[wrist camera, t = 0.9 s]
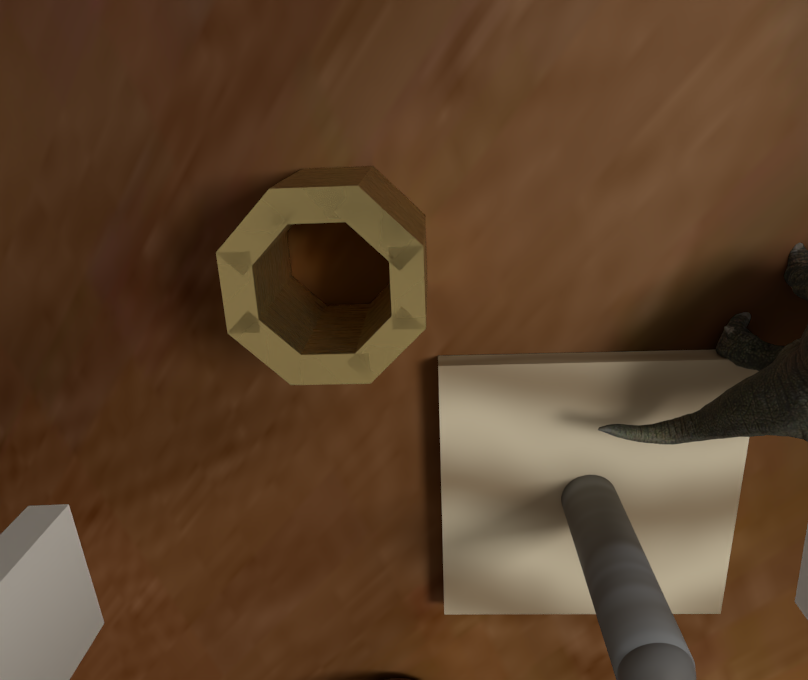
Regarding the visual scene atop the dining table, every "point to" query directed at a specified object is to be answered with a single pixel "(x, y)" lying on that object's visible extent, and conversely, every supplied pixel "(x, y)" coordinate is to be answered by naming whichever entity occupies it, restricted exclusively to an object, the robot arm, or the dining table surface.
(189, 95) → the dining table surface
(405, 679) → the wooden figurine
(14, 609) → the robot arm
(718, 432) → the dinosaur figurine
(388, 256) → the sleeve
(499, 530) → the post board
